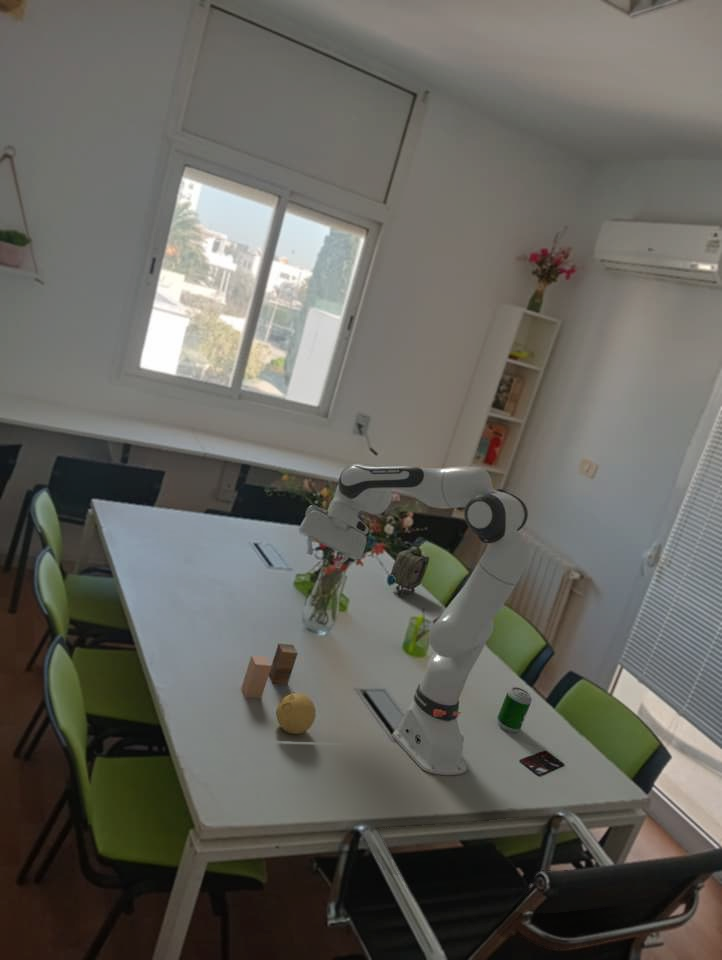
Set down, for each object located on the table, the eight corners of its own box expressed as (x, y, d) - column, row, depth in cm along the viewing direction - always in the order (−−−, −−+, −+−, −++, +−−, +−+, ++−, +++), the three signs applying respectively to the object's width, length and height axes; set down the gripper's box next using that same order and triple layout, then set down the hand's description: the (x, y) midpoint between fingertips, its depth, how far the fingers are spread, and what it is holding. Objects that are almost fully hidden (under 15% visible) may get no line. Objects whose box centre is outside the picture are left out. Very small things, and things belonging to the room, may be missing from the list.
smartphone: (565, 764, 215) (539, 775, 205) (564, 766, 216) (538, 777, 205) (545, 749, 220) (518, 759, 209) (544, 751, 220) (517, 761, 210)
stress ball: (311, 735, 191) (305, 697, 196) (323, 726, 183) (317, 686, 188) (274, 740, 187) (269, 700, 192) (285, 730, 179) (279, 689, 184)
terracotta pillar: (261, 698, 198) (271, 665, 196) (245, 697, 196) (255, 664, 194) (257, 689, 202) (267, 656, 200) (241, 687, 200) (251, 655, 198)
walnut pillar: (287, 684, 209) (297, 653, 207) (272, 683, 207) (282, 651, 205) (283, 675, 213) (293, 644, 211) (268, 674, 211) (278, 643, 209)
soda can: (514, 737, 222) (528, 702, 219) (492, 724, 225) (505, 689, 223) (522, 729, 228) (536, 695, 226) (500, 716, 232) (514, 683, 229)
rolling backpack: (402, 599, 304) (421, 543, 299) (384, 589, 308) (402, 534, 303) (417, 593, 316) (436, 539, 311) (400, 584, 321) (418, 531, 315)
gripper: (313, 500, 213) (294, 544, 208) (373, 531, 218) (357, 574, 214) (306, 503, 218) (288, 546, 214) (365, 533, 224) (348, 575, 220)
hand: (323, 560), depth 214 cm, fingers open, 8 cm apart
